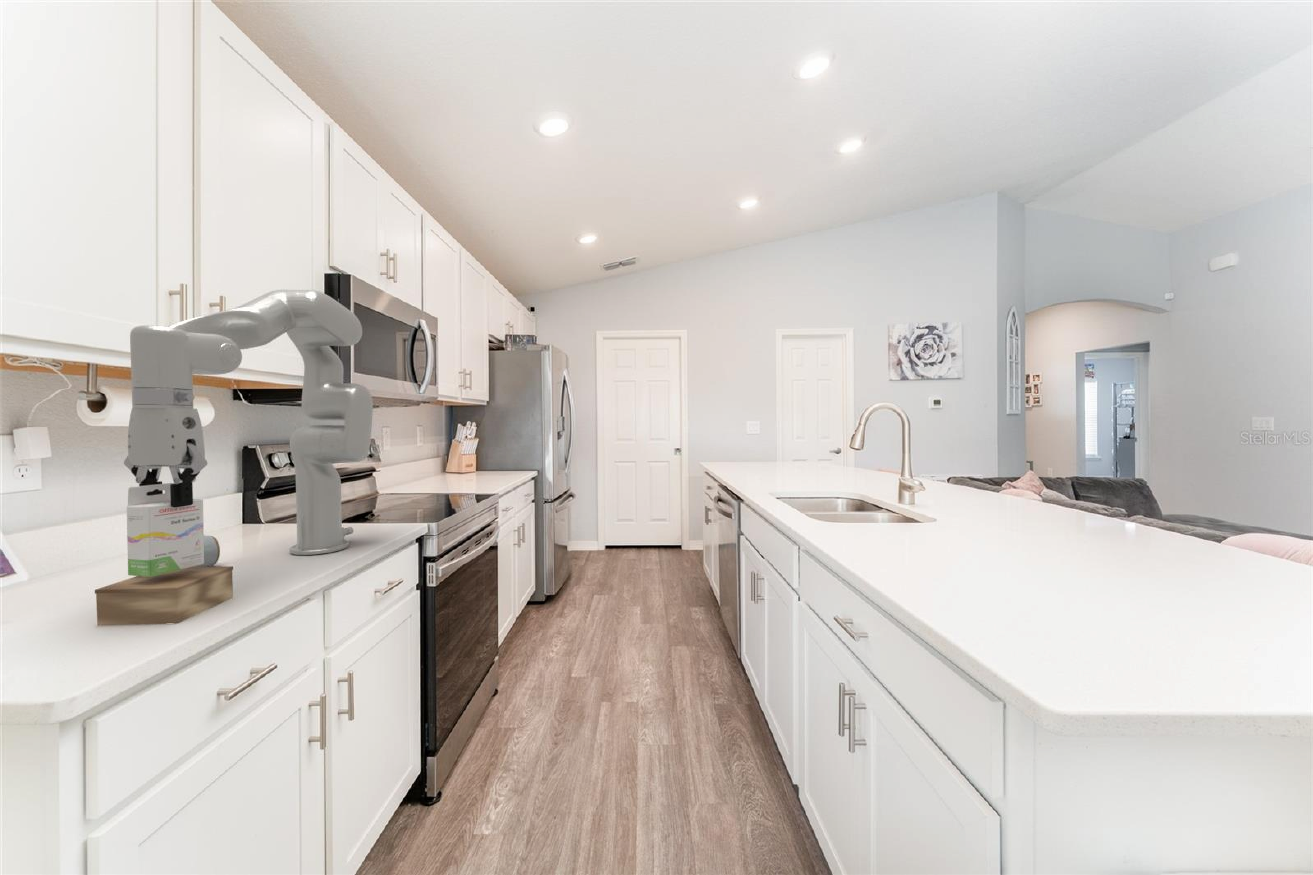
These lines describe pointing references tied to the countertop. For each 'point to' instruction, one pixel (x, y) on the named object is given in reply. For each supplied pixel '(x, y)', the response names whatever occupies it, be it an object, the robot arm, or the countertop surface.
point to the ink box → (162, 532)
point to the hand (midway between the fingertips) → (166, 504)
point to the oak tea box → (164, 596)
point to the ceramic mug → (210, 551)
